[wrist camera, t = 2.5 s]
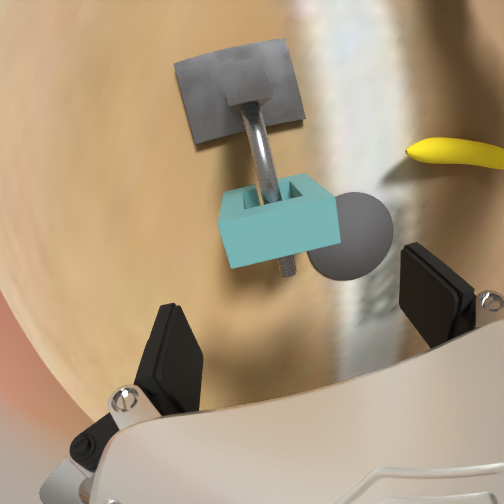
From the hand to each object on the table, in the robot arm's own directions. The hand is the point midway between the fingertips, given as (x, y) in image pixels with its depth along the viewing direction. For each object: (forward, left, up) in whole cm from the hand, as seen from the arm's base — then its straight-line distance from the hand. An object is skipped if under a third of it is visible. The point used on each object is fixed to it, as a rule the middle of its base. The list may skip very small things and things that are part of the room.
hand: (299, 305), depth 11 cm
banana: (-22, -1, -18) cm, 29 cm away
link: (0, 0, -15) cm, 15 cm away
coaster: (-8, +7, -18) cm, 20 cm away
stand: (0, -5, -18) cm, 18 cm away
